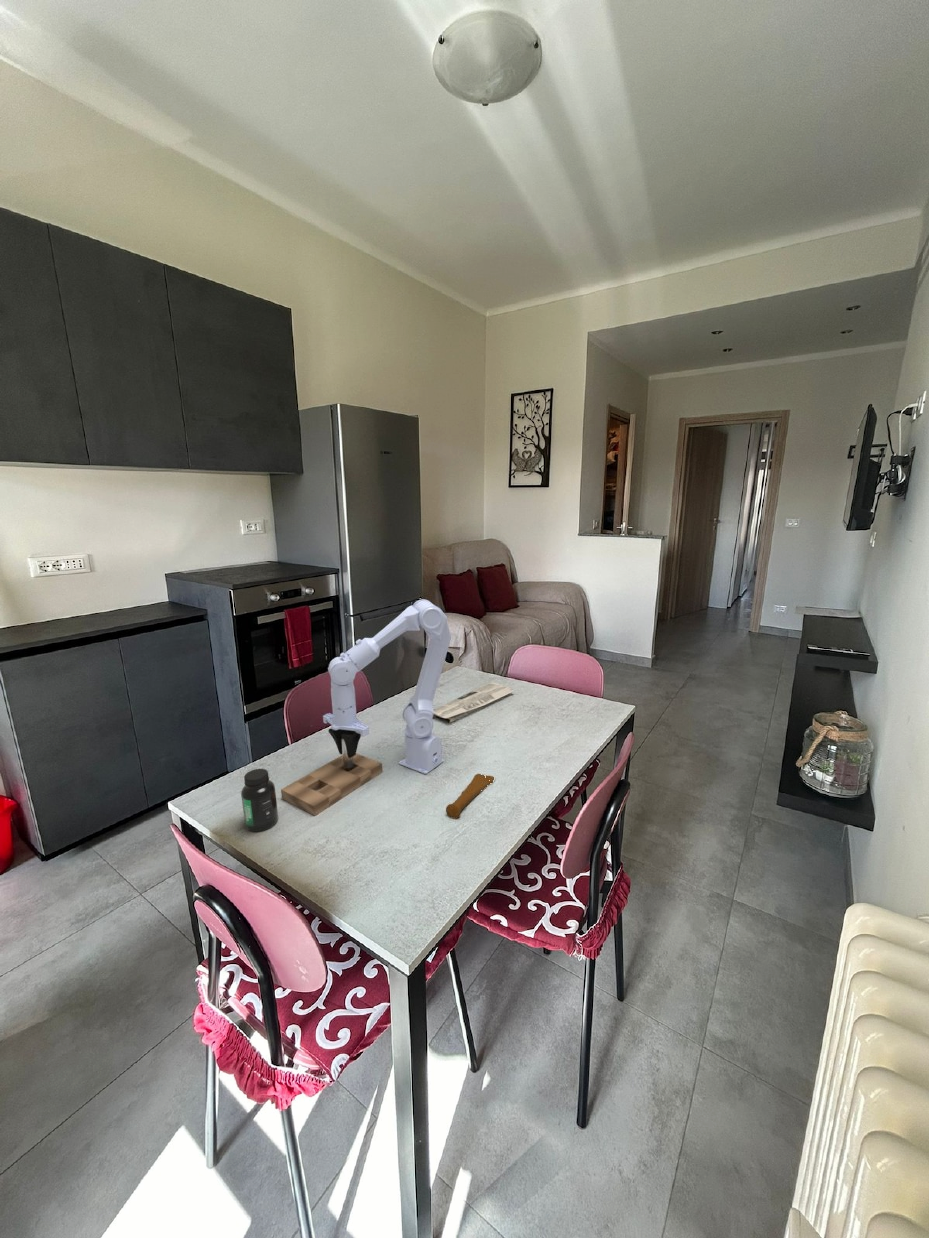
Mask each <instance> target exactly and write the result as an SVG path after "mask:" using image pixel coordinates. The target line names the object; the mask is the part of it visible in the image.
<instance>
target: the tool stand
mask: <svg viewBox="0 0 929 1238" xmlns="http://www.w3.org/2000/svg"><path fill="white" fill-rule="evenodd" d="M353 763H354V766H353V767H351V768H344V767H343V756H342V755H340V756H338V757H337V758H334V759H333V760H331V761H329V762H327V763H326V764H324V765H322V766H320V767H318V768H317V769H315V770H314V771H311V772H309V773H308V774H306V775H304V776H302V777H301V778H299V779H298V780H295V781H294V782H292V783H290V784H289V785H286V786H285V787H283V788H281V789H280V793H281V794H280V796H281V799H282V800H283V801H285V802H286V803H287V802H288V803H290V804H291V805H293V806H295V807H297V808H299V809H301V810H303V811H304V812H307V813H308V814H310V815H312V816H314V817H315V816H318V814H320V813H322V812H323V811H324V810H327V809H329V808H330V807H331V806H333V805H334V804H336V803H337V802H339V801H340V800H342V799H343V798H346V797H347V796H348V795H350V794H351V793H353V792H354V791H356V790H357V789H358V788H360V787H361V786H364V785H365V784H366V783H368V782H370V781H371V780H372V779H374V778H376V777H377V776H378V775H380V774H382V773H383V772H384V771H383V763H382V762H381V761H378V760H377V761H376V760H375V759H373V758H369V757H367V756H364V755H362V754H359V753H357V752H356V755H355V756H353Z"/></svg>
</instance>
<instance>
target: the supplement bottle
mask: <svg viewBox="0 0 929 1238" xmlns="http://www.w3.org/2000/svg"><path fill="white" fill-rule="evenodd" d="M243 778H244V786H243V788H242V789H241V791H240V795H241V803H242V805H241V806H242V811H243V818H244V824H245V828H246V829H247V830H248V831H250V832H256V833H258V832H263V831H264V832H265V831H266V830H269V829H271V828H273V827H274V826H275V825H276V824H277V822H278V820H279V812H278V802H277V795H276V788H275V787H276V786H275V783H274V782H273V781H272V780H270V776H269V772H268V770H267V769H265V768H255V769H252V770H249V771H248V772H246V773H245V774H244V776H243Z"/></svg>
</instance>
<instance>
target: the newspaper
mask: <svg viewBox="0 0 929 1238" xmlns="http://www.w3.org/2000/svg"><path fill="white" fill-rule="evenodd" d="M513 692H515V691H514V690H512V688H511V687H509V686H507V685H503V684H501V683H497V682H489V683H487V684H484V685H482V686H481V687H478V688H476V689H474V690H471V691H470V692H467V693H465V694H463V695H461V696H460V697H457V698H455V699H453V700H451V701H449V702H447V703H445V704H442V705H441V706H439V707H437V708H435V709H434V708H433V709H434V714H433V718H436V717H439V718H443V719H448V720H449V721H448V724H450V723H452V722H454V721H456V720H458V719H460V718H462V717H465V716H466V715H468V714H470V713H472V712H474V711H476V710H478V709H480V708H482V707H483V706H486V705H488V704H490V703H492V702H495V701H496V700H498V699H501V698H502V697H505V696H507V695H510V694H511V693H513Z"/></svg>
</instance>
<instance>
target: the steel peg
mask: <svg viewBox="0 0 929 1238" xmlns="http://www.w3.org/2000/svg"><path fill="white" fill-rule="evenodd" d="M341 743H342V754H341V756H343V767H344V768H351V767H353V766H354V763H353V757H351V758H349V757H348V755H347V750H346V745H345V742H344V739H343V738H342V737H341Z"/></svg>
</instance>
